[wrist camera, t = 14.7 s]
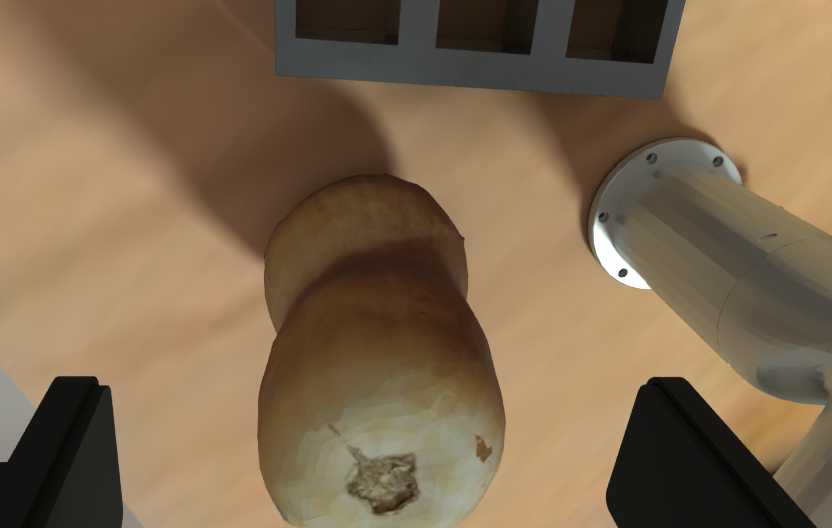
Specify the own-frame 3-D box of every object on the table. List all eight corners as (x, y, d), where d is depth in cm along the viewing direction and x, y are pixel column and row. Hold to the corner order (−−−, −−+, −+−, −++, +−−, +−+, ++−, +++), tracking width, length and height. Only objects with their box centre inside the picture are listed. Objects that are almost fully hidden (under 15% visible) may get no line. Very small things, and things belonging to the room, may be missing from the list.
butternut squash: (252, 165, 45) (205, 380, 23) (441, 141, 47) (568, 322, 24) (286, 333, 51) (275, 627, 29) (452, 308, 53) (561, 570, 31)
